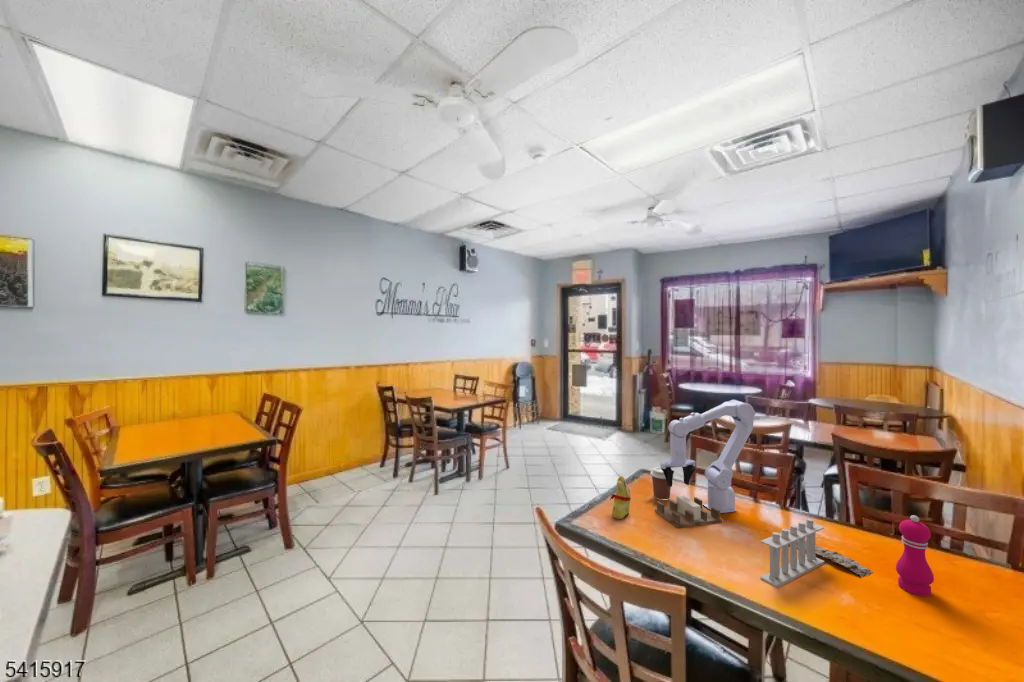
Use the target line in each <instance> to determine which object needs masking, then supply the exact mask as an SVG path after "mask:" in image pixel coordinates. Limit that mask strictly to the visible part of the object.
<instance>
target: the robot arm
mask: <svg viewBox="0 0 1024 682" xmlns="http://www.w3.org/2000/svg"><path fill="white" fill-rule="evenodd" d="M755 411H756V410H755V409H754V407H753V406H752V405H751V404H750V403H747V402H743V401H740V400H737V399H731V400H727V401H724V402H722V403H721V404H719V405H717V406H715V407H712V408H711V409H709V410H706V411H705V412H703V413H699V412H691V413H689V414H690V415H687V416H685V417H680V418H679V420H678V419H673V420H672V421H670V423H669V424H668V425H667V429H668V431H669V435H670V437H669V438H670V441H669V442H670V445H669V446H670V448H669V449H670V451H669V452H670V458H669V460H667V461H664V462H660V467H661V469H662V471H663V473H664V475H665V478H666V481H667V485H668V486H670V487H671V488H673V478H674V473H675V471H674V470H673V468H681V469H682V472H683V484H685V485H687V486H689V485H690V481H691V478H692V476H693V474H694V472H695V471H696V461H695V460H694V459H687V444H686V443H687V438H686V437H687V436H688V434H689V433H690V432H693V431H696V430H697V429H700V428H703V427H704V426H705V424H706V423H707V422H708V421H709V422H710V421H712V420H714V419H718V418H720V417H724V416H727V417H731V418H732V420H733V422H734V424H735V427H734V429H733V431H732V433H731V435H730V437H729V438H728V440H727V442H726V444H725V446H724V448H723V449H722V451H721V453H720V455H719V457H718V459H716V460H715V461H712V463H711V464H710V465H709V466H708V467H707V468H706V469H705V470H704V476H705V478H706V480H707V503H702V506H703V505H704V506H705V508H706V507H707V508H706V509H708V510H709V509H710V511H711V507H714V508H716V509H718V510H719V511H720V514H724V513H731V512H732V513H734V512H737V509H736V493H735V490H734V489H733V487H732V486H731V485H732V478H733V476H734V471H733V466H734V465H735V463H736V461H737V459H738V457H739V455H740V453H741V452H742V449H743V448H744V446H745V444H746V443H747V440H748V439H749V436H750V435H751V433H752V431H753V430H754V418H755V416H756V412H755ZM704 506H703V507H704Z"/></svg>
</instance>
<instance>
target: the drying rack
mask: <svg viewBox="0 0 1024 682" xmlns="http://www.w3.org/2000/svg"><path fill="white" fill-rule="evenodd" d="M693 502H695V503H696V504H698V505H700V506H701V520H694V514H693V513H691V512H690V511H688V510H685V514H683V513H682V512H680V511H679V510H677V503H676V501H675V500H673V499H669V500H668V503H669V504H668V505H669V506H668V507H665V504H664V503H662V501H660V500H658V501H656V508H654V512H655V513H656V512H657V513H656V514H657V515H659V516H660V515H661V516H660V517H661V518H663V517H664V518H663V519H664V520H666V521H667V522H668V523H669V524H671V525H673V526H674V527H675V528H677V529H679V528H680V527H681V528H687V526H689V527H695V526H694V525H696V526H702V525H701V524H704V525H711V524H710V523H712V524H717V523H718V522H719V523H723V519H722V518H721V513H720V511H719V510H718V509H716V508H714V507H711V510H710V511H709V509H708V510H707V508H704V506H703V500H702V499H701V498H699V497H696V496H694V497H693ZM681 528H680V529H681Z"/></svg>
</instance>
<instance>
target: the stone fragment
mask: <svg viewBox="0 0 1024 682" xmlns="http://www.w3.org/2000/svg"><path fill="white" fill-rule="evenodd" d="M789 546H790V544H789ZM797 548H798V540H797ZM805 553H806V540H805ZM815 554H817V555H819V556H821V557H823V558H826V559H830V560H831V562H833V563H838V564H839V565H842V566H844V567H845V568H847V569H848V570H849V571H851V572H853V573H855V574H856V575H859V576H860V578H862V577H863V578H864V577H866V576H870V574H872V573H873V570H871V569H869V568H867V567H865V566H863V565H861V564H860V562H859V561H858V560H855V559H852V558H850V557H847V556H845V555H843V554H841V553H838V552H837V551H833V550H832V551H831V550H829V549H826V548H823V547H822V546H819V545H816V544H815Z"/></svg>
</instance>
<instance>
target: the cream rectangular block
mask: <svg viewBox="0 0 1024 682" xmlns="http://www.w3.org/2000/svg"><path fill="white" fill-rule="evenodd" d="M675 502H676V503H677V510H679V511H680V512H682V513H683V514H685V510H688V511H690V512H691V513H693V514H694V520H701V506H700V505H698V504H696V503H695V502H694V500H691V499H690V498H688V497H687V496H685V495H676V501H675Z"/></svg>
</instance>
